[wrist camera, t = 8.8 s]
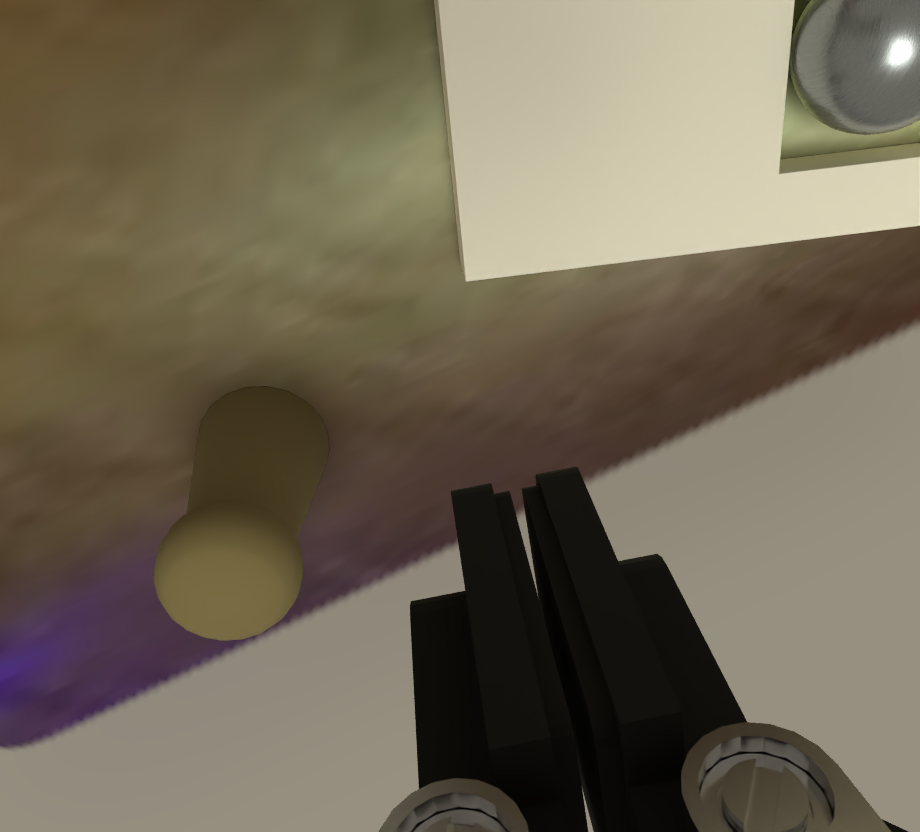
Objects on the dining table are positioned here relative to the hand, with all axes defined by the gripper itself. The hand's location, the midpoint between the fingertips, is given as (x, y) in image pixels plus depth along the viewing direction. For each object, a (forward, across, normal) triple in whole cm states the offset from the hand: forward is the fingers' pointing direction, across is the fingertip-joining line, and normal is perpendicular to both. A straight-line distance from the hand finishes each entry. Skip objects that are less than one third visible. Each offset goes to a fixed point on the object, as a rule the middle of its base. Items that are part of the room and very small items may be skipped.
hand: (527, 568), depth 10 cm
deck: (+24, -12, -2) cm, 27 cm away
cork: (+24, +10, +10) cm, 28 cm away
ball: (+21, -17, -3) cm, 27 cm away
